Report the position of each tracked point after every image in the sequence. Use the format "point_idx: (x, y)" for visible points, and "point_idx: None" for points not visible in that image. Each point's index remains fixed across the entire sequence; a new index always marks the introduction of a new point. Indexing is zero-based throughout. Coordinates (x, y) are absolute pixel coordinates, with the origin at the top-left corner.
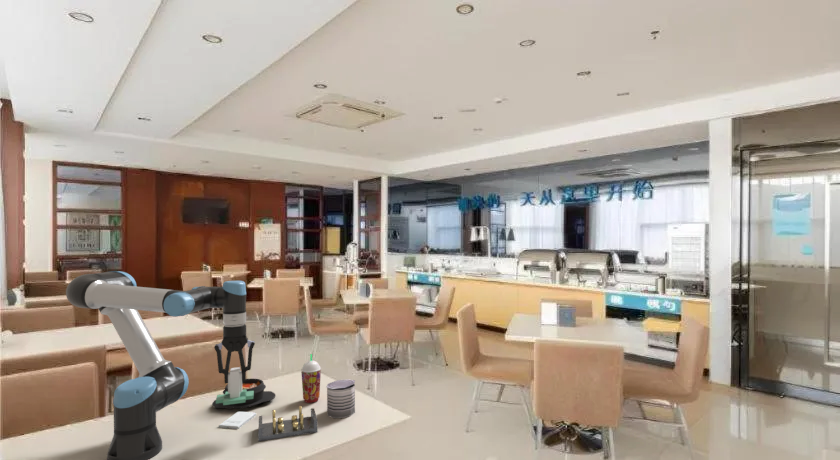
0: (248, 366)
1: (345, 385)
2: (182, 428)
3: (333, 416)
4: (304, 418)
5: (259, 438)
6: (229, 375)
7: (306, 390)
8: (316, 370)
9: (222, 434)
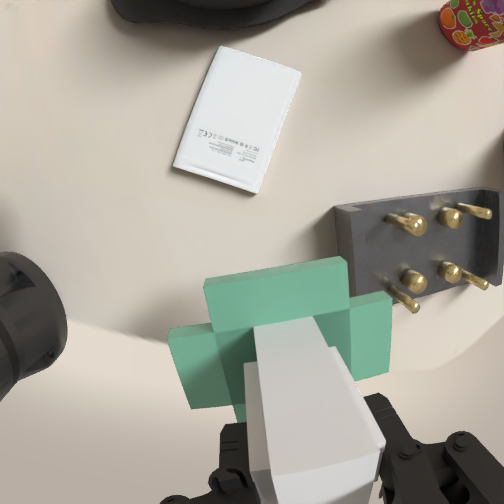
0: (448, 494)
1: None
2: (56, 158)
3: None
4: (468, 198)
5: None
6: (274, 498)
7: (476, 34)
8: None
9: (207, 232)
